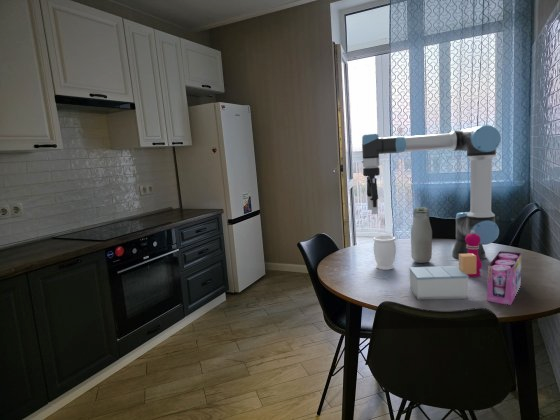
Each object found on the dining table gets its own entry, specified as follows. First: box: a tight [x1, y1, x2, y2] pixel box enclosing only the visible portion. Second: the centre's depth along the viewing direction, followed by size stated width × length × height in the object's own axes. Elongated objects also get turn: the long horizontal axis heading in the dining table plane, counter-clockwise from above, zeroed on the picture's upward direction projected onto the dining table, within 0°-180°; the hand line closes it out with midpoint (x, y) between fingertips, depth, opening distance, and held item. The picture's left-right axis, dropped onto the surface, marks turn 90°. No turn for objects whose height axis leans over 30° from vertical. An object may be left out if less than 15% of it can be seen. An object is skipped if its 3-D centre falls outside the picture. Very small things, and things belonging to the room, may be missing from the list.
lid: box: [408, 253, 477, 280], centre depth 144 cm, size 23×13×7 cm, turn 84°
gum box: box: [486, 250, 522, 306], centre depth 140 cm, size 24×8×14 cm, turn 140°
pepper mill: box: [465, 230, 483, 278], centre depth 162 cm, size 7×7×20 cm
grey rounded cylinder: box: [410, 206, 433, 264], centre depth 184 cm, size 10×10×28 cm
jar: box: [373, 235, 397, 271], centre depth 181 cm, size 11×10×15 cm
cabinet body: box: [409, 270, 469, 301], centre depth 145 cm, size 18×12×8 cm, turn 84°
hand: (372, 211), depth 178 cm, fingers open, 13 cm apart
